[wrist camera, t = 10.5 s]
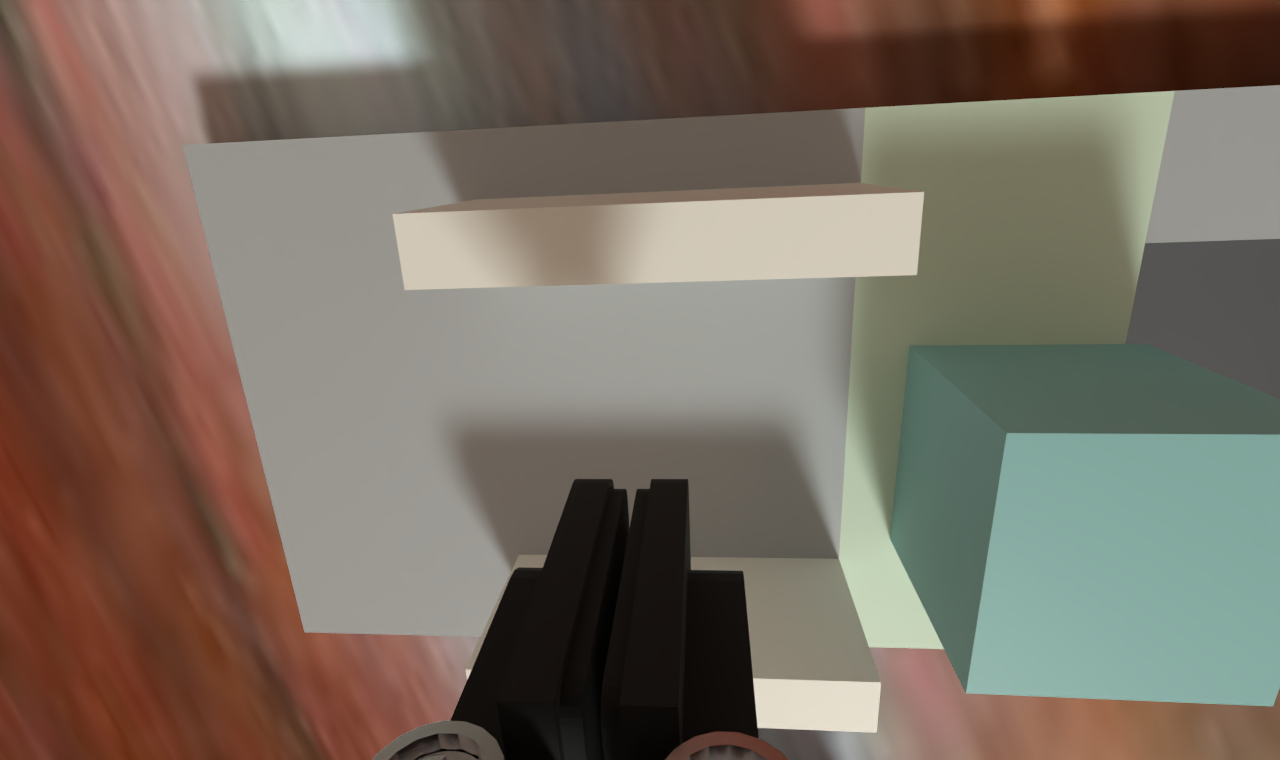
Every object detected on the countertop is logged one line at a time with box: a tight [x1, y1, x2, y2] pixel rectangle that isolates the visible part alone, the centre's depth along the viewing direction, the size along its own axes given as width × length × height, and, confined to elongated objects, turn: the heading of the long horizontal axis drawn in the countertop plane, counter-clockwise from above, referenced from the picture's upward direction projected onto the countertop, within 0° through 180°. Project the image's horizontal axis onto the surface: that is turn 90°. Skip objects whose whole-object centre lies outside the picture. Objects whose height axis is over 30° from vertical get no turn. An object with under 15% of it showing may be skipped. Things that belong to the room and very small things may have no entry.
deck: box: [183, 85, 1280, 733], centre depth 17 cm, size 16×34×7 cm, turn 92°
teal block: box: [890, 344, 1280, 706], centre depth 16 cm, size 6×6×6 cm
